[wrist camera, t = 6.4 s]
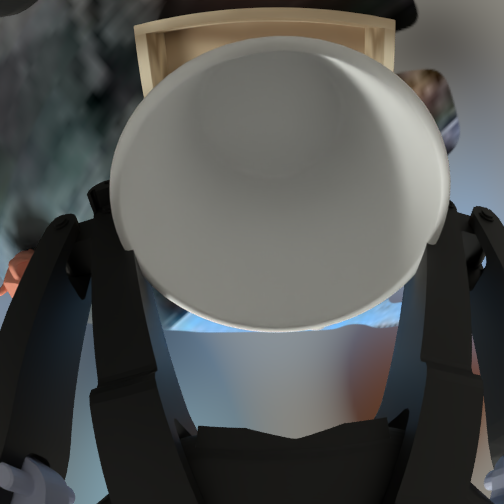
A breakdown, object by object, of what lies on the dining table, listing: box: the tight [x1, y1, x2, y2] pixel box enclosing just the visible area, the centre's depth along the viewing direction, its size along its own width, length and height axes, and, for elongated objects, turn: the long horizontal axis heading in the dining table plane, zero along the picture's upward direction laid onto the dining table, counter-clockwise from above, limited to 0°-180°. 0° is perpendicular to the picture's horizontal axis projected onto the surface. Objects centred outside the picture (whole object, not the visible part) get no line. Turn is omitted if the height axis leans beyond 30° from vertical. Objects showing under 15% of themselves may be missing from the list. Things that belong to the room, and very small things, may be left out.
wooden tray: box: [134, 7, 395, 98], centre depth 25 cm, size 17×22×6 cm
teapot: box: [0, 249, 34, 298], centre depth 42 cm, size 14×12×10 cm
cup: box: [110, 36, 450, 332], centre depth 12 cm, size 8×12×10 cm
